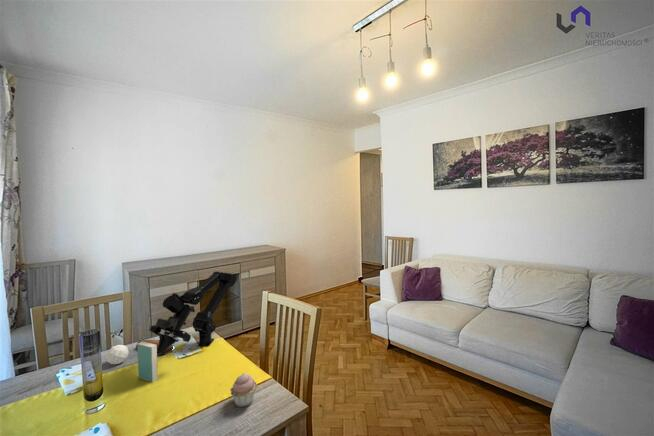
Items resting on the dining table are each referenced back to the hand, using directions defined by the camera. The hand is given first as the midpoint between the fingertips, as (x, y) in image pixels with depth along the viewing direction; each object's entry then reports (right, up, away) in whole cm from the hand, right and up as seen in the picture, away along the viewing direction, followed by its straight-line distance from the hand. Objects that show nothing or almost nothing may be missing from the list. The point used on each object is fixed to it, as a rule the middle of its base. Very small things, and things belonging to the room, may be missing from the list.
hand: (157, 353), depth 114 cm
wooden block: (-2, -8, -4) cm, 9 cm away
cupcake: (+41, -9, -16) cm, 45 cm away
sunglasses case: (-12, -7, +19) cm, 24 cm away
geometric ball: (-22, -8, +7) cm, 24 cm away
